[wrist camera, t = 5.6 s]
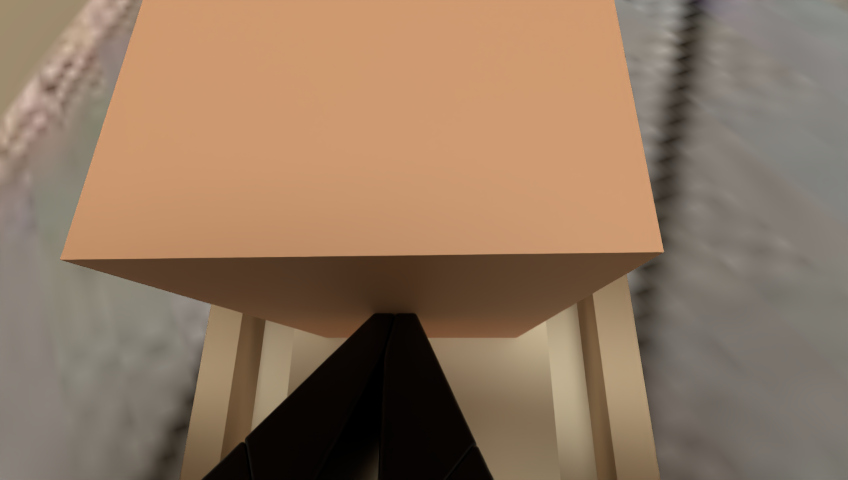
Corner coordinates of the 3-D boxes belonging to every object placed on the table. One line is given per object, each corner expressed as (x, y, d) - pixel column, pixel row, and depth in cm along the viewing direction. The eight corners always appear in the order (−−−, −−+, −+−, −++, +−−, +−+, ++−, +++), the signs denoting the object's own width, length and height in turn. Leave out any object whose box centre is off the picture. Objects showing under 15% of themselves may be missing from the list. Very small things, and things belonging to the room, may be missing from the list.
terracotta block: (516, 337, 12) (663, 251, 4) (325, 337, 13) (60, 259, 4) (505, 165, 14) (584, -151, 6) (340, 170, 14) (181, -119, 6)
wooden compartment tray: (655, 889, 10) (778, 1202, 6) (202, 847, 11) (67, 1101, 7) (545, 1, 20) (567, -88, 16) (310, 14, 20) (278, -67, 17)
